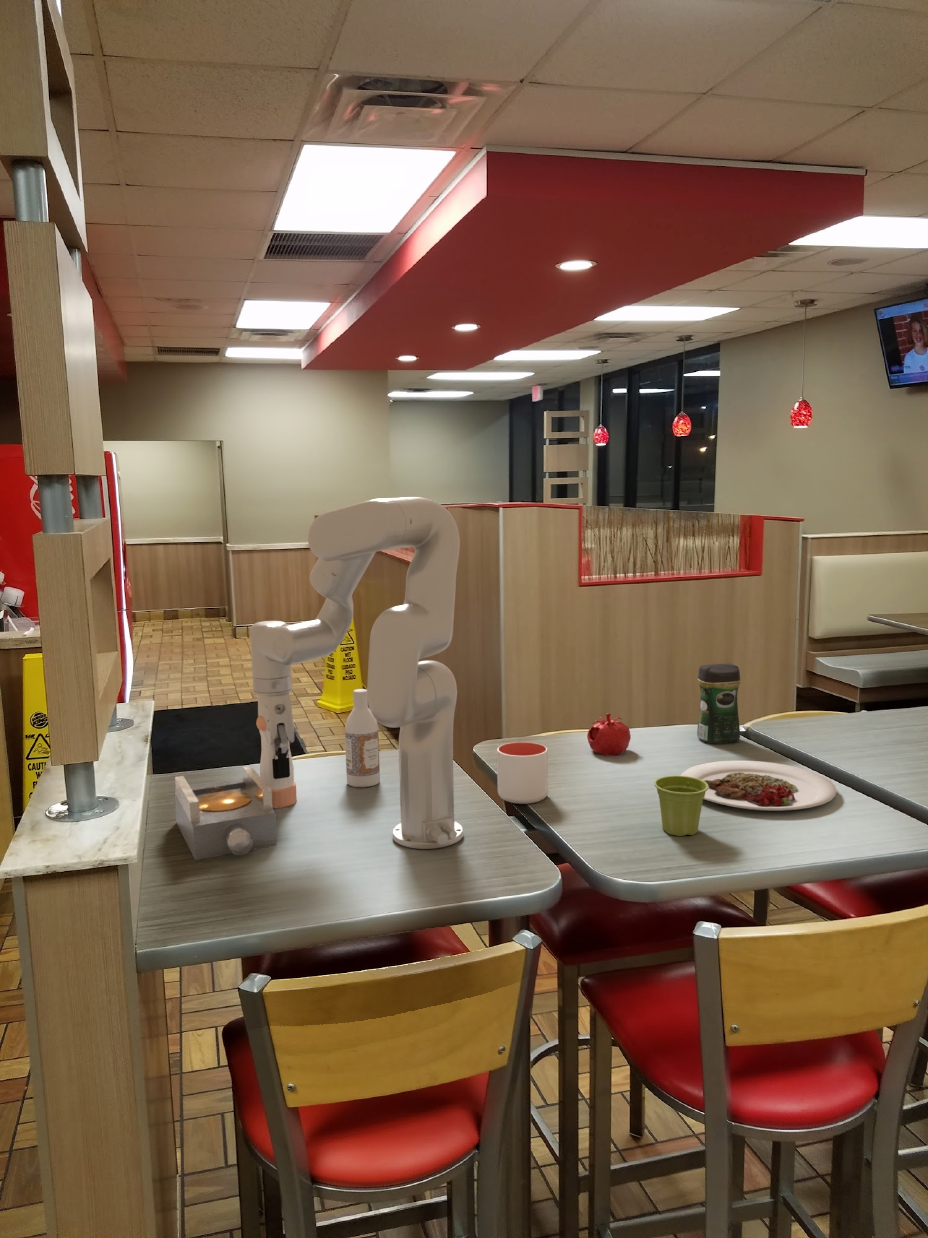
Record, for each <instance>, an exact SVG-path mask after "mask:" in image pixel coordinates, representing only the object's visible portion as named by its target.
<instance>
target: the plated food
mask: <svg viewBox="0 0 928 1238" xmlns="http://www.w3.org/2000/svg"><path fill="white" fill-rule="evenodd" d="M679 776H688V777H694V778H697V779H700V780H703V781H705V782H706V783H707V784H708V790H707V791H706V792H705V796H704V798H703V800H705V801H708V802H712V803H714V804H715V803H716V804H718V805H719V804H720V805H725V806H728V807H731V808H733V807H734V808H736V809H737V808H738V809H745V810H751V811H752V810H753V811H754V810H755V811H762V812H763V811H766V812H767V811H769V812H770V811H771V812H776V811H792V810H802V809H809V808H815V807H818V806H822V805H825V804H826V803H829V802H831V800H833V799H834V798H835V797H836V794H837V788H836V787H837V786H836V785H835V784H834V783H833V782H832V781H831V780H829V779H828V777H827V778H826V777H825V776H824V775H820V774H819V773H816V772H814V771H811V770H808V769H805V768H800V767H797V766H793V765H789V764H784V763H783V764H782V763H778V762H768V761H759V760H757V761H756V760H719V761H713V762H705V763H702V764H697V765H694V766H691V767H689V768H687V769H685V770H683V772H682V773H681V774H680V775H679Z"/></svg>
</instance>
